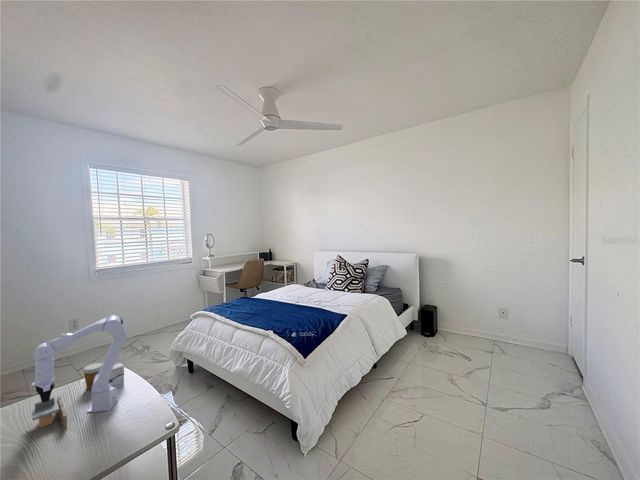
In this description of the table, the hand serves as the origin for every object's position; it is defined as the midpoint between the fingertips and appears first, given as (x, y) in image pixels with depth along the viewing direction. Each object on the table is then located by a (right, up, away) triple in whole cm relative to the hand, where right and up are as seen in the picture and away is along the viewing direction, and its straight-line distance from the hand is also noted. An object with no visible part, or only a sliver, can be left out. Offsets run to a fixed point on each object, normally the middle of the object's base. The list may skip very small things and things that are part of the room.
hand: (45, 400), depth 116 cm
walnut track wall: (+5, -10, +3) cm, 12 cm away
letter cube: (0, -11, 0) cm, 10 cm away
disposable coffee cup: (-2, -10, +27) cm, 29 cm away
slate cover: (0, -5, 0) cm, 5 cm away
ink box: (+9, -10, +27) cm, 30 cm away
